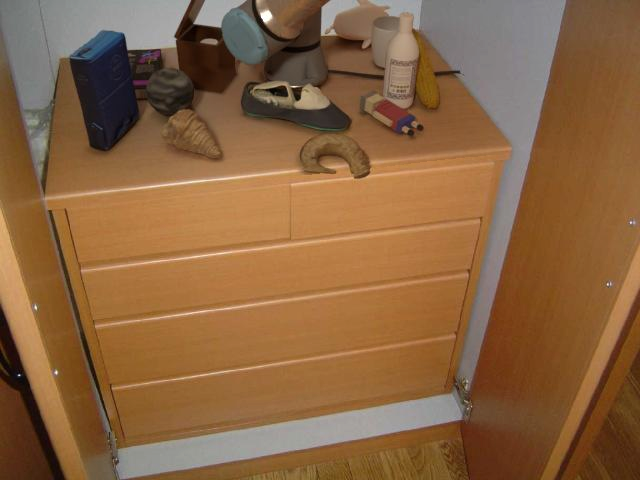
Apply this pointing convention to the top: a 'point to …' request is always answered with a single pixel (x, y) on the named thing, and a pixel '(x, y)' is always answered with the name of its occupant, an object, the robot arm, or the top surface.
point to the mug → (382, 37)
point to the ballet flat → (293, 105)
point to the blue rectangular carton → (105, 88)
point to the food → (425, 77)
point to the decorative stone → (170, 91)
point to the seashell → (190, 134)
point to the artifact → (335, 154)
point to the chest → (205, 58)
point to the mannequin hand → (358, 22)
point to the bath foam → (401, 64)
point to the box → (143, 68)
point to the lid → (189, 16)
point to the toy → (389, 113)
